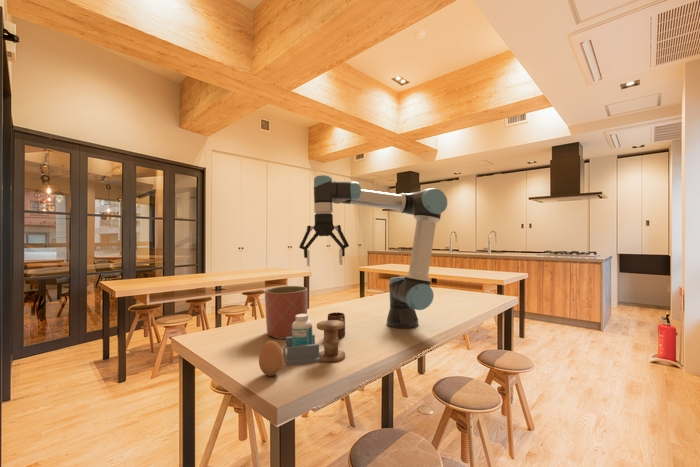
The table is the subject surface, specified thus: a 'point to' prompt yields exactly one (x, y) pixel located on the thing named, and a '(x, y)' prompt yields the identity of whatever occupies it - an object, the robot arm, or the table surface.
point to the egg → (271, 358)
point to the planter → (284, 309)
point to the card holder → (301, 352)
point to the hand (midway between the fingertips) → (324, 265)
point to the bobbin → (331, 341)
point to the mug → (340, 318)
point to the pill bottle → (302, 330)
